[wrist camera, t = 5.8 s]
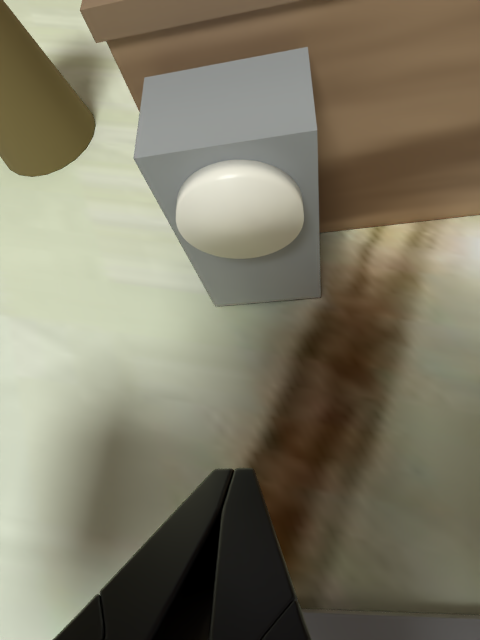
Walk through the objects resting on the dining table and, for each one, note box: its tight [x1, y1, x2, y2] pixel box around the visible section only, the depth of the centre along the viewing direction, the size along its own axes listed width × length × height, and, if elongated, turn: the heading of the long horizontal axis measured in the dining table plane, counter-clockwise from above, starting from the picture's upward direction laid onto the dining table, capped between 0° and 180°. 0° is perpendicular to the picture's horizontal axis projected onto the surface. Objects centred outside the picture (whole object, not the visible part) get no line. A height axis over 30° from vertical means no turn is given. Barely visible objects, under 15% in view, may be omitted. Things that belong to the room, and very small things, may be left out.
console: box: [80, 0, 480, 233], centre depth 14 cm, size 5×19×11 cm, turn 90°
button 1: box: [134, 47, 321, 306], centre depth 14 cm, size 4×4×8 cm
